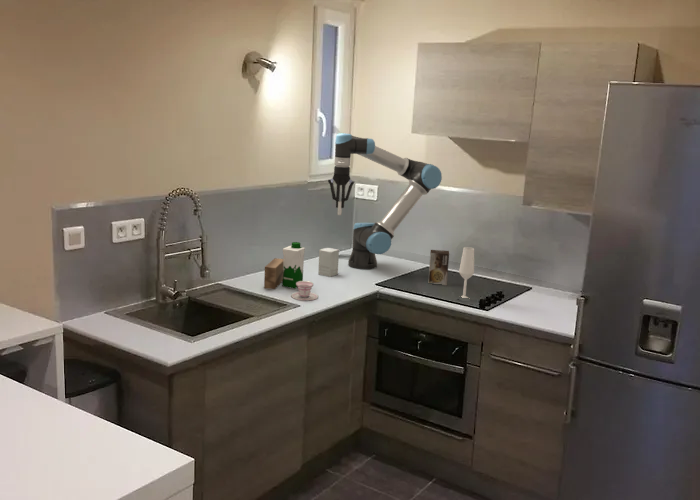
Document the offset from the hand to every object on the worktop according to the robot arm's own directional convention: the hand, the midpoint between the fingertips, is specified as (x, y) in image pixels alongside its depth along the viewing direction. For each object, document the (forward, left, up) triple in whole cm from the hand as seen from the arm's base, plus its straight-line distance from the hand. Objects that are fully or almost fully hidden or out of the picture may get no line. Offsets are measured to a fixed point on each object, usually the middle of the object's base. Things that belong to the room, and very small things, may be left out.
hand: (339, 214), depth 341 cm
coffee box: (-50, -2, -31) cm, 59 cm away
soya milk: (+16, +27, -31) cm, 44 cm away
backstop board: (+24, +27, -30) cm, 47 cm away
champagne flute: (-63, +21, -31) cm, 73 cm away
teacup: (+7, +41, -31) cm, 52 cm away
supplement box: (+4, +1, -31) cm, 31 cm away
